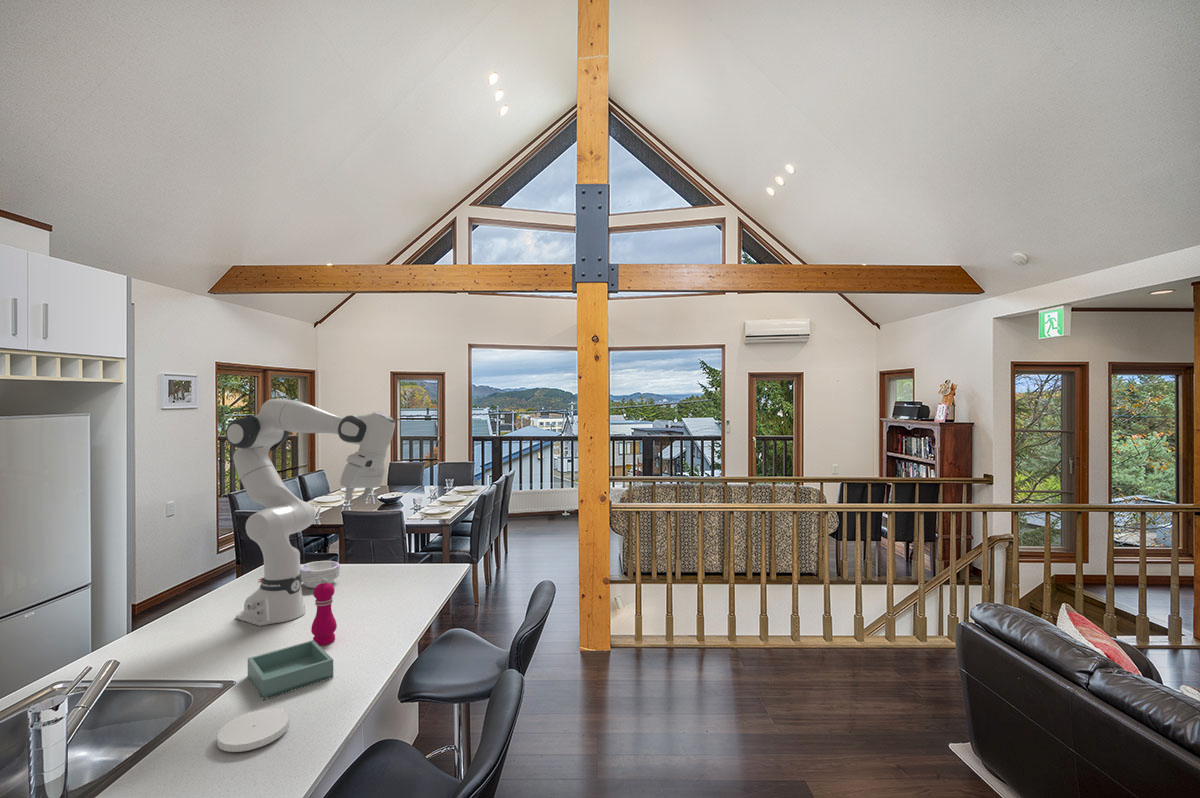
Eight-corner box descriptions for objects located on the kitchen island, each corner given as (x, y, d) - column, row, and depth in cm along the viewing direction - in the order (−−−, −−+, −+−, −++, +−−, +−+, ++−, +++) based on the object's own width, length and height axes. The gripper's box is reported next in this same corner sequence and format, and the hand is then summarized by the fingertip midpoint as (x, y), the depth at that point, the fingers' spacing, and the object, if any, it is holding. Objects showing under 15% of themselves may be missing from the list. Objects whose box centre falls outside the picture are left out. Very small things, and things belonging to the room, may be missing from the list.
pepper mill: (341, 638, 181) (341, 576, 180) (324, 648, 174) (324, 583, 174) (324, 635, 183) (324, 573, 183) (305, 644, 176) (305, 580, 176)
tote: (247, 676, 156) (247, 658, 156) (313, 656, 168) (313, 640, 168) (263, 700, 144) (263, 680, 144) (333, 677, 156) (333, 659, 156)
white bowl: (347, 582, 235) (347, 563, 235) (312, 593, 222) (312, 573, 222) (325, 576, 243) (325, 558, 243) (290, 586, 230) (290, 567, 230)
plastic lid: (214, 733, 130) (214, 722, 130) (283, 713, 139) (283, 702, 139) (219, 765, 119) (219, 753, 119) (293, 740, 128) (293, 729, 128)
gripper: (377, 458, 201) (363, 496, 199) (344, 456, 181) (329, 498, 179) (392, 463, 200) (379, 501, 199) (362, 462, 180) (347, 504, 178)
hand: (355, 500), depth 189 cm, fingers open, 8 cm apart
